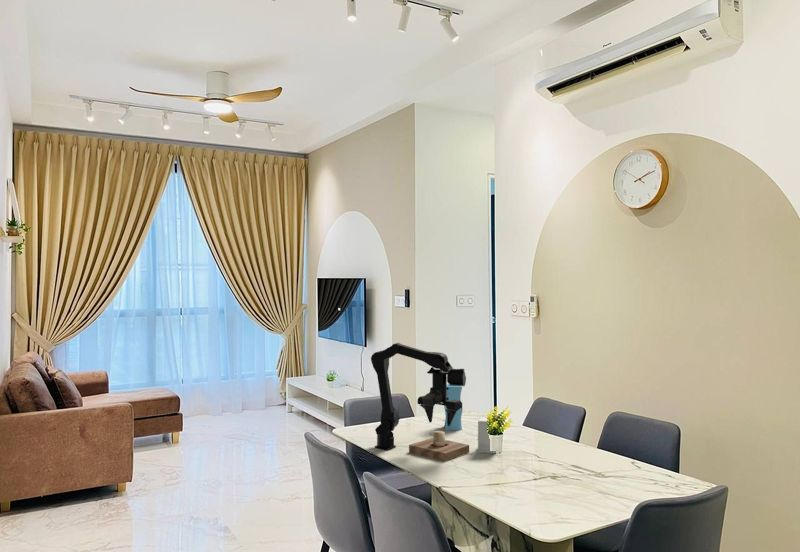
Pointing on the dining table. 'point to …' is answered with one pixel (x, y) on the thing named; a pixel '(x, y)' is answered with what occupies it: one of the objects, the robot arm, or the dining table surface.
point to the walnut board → (439, 449)
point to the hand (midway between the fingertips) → (439, 424)
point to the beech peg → (439, 439)
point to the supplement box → (483, 437)
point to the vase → (455, 394)
